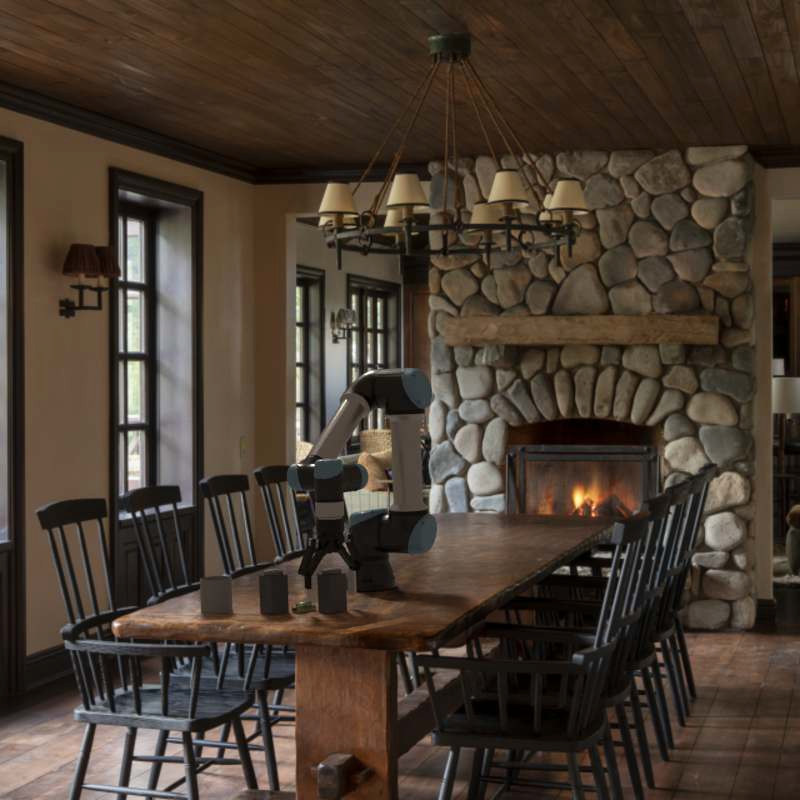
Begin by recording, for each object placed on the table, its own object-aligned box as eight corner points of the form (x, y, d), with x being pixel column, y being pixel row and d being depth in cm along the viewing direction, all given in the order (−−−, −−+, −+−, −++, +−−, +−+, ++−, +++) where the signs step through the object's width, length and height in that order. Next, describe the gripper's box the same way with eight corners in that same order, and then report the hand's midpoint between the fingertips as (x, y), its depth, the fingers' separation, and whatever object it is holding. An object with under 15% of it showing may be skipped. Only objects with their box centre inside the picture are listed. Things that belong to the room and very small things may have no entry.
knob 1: (276, 609, 349) (275, 567, 348) (288, 612, 345) (287, 569, 344) (260, 612, 345) (258, 569, 345) (272, 614, 341) (270, 571, 341)
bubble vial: (310, 609, 348) (310, 600, 348) (315, 610, 346) (315, 601, 346) (292, 613, 344) (291, 603, 344) (297, 614, 342) (297, 604, 342)
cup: (234, 612, 354) (232, 575, 354) (231, 617, 346) (230, 580, 345) (203, 613, 354) (201, 576, 353) (199, 618, 345) (198, 581, 345)
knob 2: (334, 608, 348) (333, 566, 347) (347, 611, 343) (345, 567, 343) (318, 611, 344) (317, 568, 344) (330, 614, 340) (329, 570, 340)
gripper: (357, 512, 354) (359, 590, 354) (282, 521, 338) (285, 602, 338) (375, 514, 348) (377, 593, 349) (300, 523, 332) (302, 605, 333)
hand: (332, 598), depth 343 cm, fingers open, 13 cm apart
